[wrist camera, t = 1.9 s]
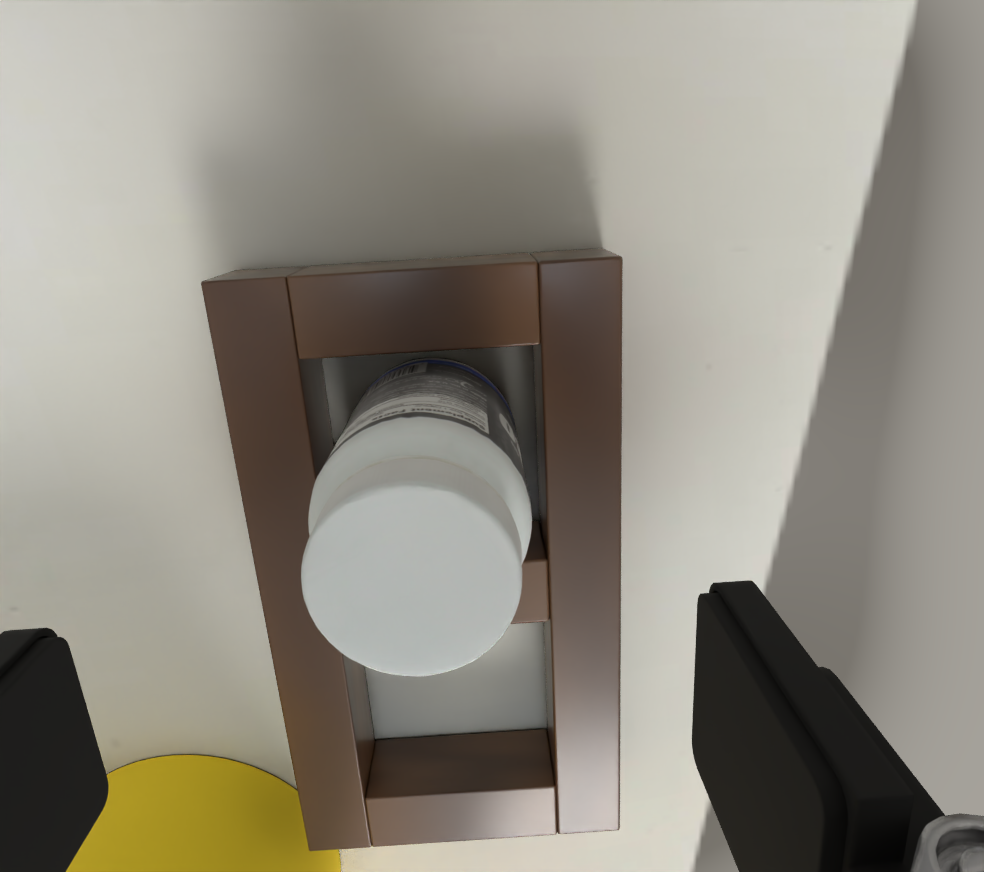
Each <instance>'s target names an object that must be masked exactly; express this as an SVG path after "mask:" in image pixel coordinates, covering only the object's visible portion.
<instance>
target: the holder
mask: <svg viewBox="0 0 984 872" xmlns="http://www.w3.org/2000/svg"><path fill="white" fill-rule="evenodd" d="M201 285H202V291H203V296H204V301H205V306H206V312H207V317H208V322H209V327H210V333H211V338H212V343H213V349H214V354H215V359H216V364H217V370H218V375H219V380H220V385H221V391H222V396H223V401H224V406H225V412H226V417H227V422H228V427H229V433H230V438H231V443H232V448H233V454H234V459H235V464H236V469H237V475H238V480H239V485H240V490H241V496H242V501H243V506H244V512H245V517H246V522H247V527H248V533H249V538H250V543H251V548H252V554H253V559H254V564H255V569H256V575H257V580H258V585H259V590H260V596H261V601H262V606H263V611H264V617H265V622H266V627H267V632H268V638H269V643H270V648H271V653H272V659H273V664H274V669H275V675H276V680H277V685H278V690H279V696H280V701H281V706H282V711H283V717H284V722H285V727H286V732H287V738H288V743H289V748H290V753H291V759H292V764H293V769H294V774H295V780H296V785H297V790H298V795H299V801H300V806H301V811H302V816H303V822H304V827H305V832H306V838H307V843H308V848H309V851H321V850H336V849H351V848H366V847H371V846H373V847H377V846H392V845H407V844H422V843H436V842H451V841H466V840H481V839H495V838H510V837H525V836H540V835H554V834H556V833H557V832H558V834H567V833H582V832H597V831H611V830H619V828H620V658H621V447H622V257H621V256H619V255H616V254H614V253H612V252H609V251H607V250H605V249H602V248H597V249H580V250H564V251H547V252H533V253H531V254H529V253H513V254H497V255H480V256H464V257H447V258H431V259H414V260H398V261H381V262H365V263H348V264H332V265H315V266H309V267H308V266H298V267H282V268H265V269H249V270H235V271H232V272H229V273H226V274H223V275H220V276H217V277H214V278H211V279H208V280H205V281H202V282H201ZM526 345H533V353H534V379H535V406H536V432H537V459H538V486H539V512H540V522H539V521H537V520H536V521H532V530H531V537H530V541H529V546H528V550H527V553H526V556H525V559H524V561H523V563H522V590H521V596H520V600H519V604H518V607H517V610H516V613H515V615H514V617H513V619H512V621H511V623H510V624H516V623H531V622H544V646H545V672H546V699H547V725H548V731H547V729H538V730H523V731H508V732H493V733H478V734H463V735H448V736H433V737H418V738H403V739H388V740H376V741H375V740H374V733H373V725H372V718H371V711H370V704H369V697H368V690H367V682H366V675H365V668H364V666H363V665H362V664H360V663H358V662H356V661H354V660H352V659H350V658H348V657H347V656H345V655H344V654H343V653H341V652H340V651H339V650H338V649H337V648H335V647H334V646H333V645H332V644H331V643H330V642H329V641H328V640H327V639H326V638H325V637H324V635H323V634H322V633H321V632H320V631H319V629H318V628H317V626H316V625H315V623H314V621H313V619H312V618H311V616H310V614H309V611H308V609H307V606H306V603H305V601H304V597H303V592H302V582H301V566H302V560H303V554H304V551H305V548H306V545H307V542H308V539H309V537H310V535H309V524H308V517H309V507H310V502H311V496H312V491H313V488H314V484H315V480H316V478H317V476H318V475H319V473H320V471H321V469H322V468H323V466H324V464H325V462H326V461H327V459H328V457H329V456H330V454H331V452H332V450H333V448H334V446H333V438H332V431H331V424H330V417H329V410H328V403H327V395H326V388H325V381H324V374H323V367H322V360H321V358H332V357H348V356H364V355H380V354H397V353H413V352H429V351H445V350H461V349H478V348H494V347H510V346H526Z"/></svg>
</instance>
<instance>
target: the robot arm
mask: <svg viewBox="0 0 984 872" xmlns="http://www.w3.org/2000/svg"><path fill="white" fill-rule="evenodd" d="M692 748H693V754H694V759H695V763H696V766H697V769H698V771H699V774H700V776H701V779H702V781H703V784H704V786H705V789H706V791H707V793H708V796H709V798H710V801H711V803H712V806H713V808H714V811H715V813H716V816H717V818H718V821H719V823H720V825H721V828H722V830H723V833H724V835H725V838H726V840H727V843H728V845H729V848H730V850H731V853H732V855H733V858H734V860H735V863H736V865H737V867H738V870H739V872H984V816H978V815H969V814H954V815H948V816H945V815H944V813H943V812H942V811H941V809H940V808H939V807H938V806H937V804H936V803H935V802H934V801H933V800H932V798H931V797H930V795H929V794H928V793H927V791H926V790H925V789H924V788H923V786H922V785H921V784H920V783H919V781H918V780H917V779H916V777H915V776H914V775H913V774H912V772H911V771H910V770H909V769H908V767H907V766H906V765H905V763H904V762H903V761H902V759H901V758H900V757H899V756H898V755H897V753H896V752H895V751H894V749H893V748H892V747H891V745H890V744H889V743H888V742H887V740H886V739H885V738H884V736H883V735H882V734H881V732H880V731H879V730H878V729H877V727H876V726H875V725H874V723H873V722H872V721H871V720H870V718H869V717H868V716H867V715H866V714H865V712H864V711H863V709H862V708H861V707H860V705H859V704H858V703H857V702H856V701H855V699H854V698H853V696H852V695H851V694H850V693H849V691H848V690H847V689H846V688H845V686H844V685H843V684H842V682H841V681H840V680H839V679H838V677H837V676H836V675H835V674H834V673H833V672H832V671H831V670H830V669H827V668H824V667H818V666H817V665H816V664H815V662H814V661H813V660H812V658H811V657H810V656H809V655H808V653H807V652H806V651H805V649H804V648H803V646H802V645H801V644H800V643H799V641H798V640H797V639H796V637H795V636H794V635H793V633H792V632H791V631H790V629H789V628H788V627H787V625H786V624H785V623H784V621H783V620H782V619H781V618H780V616H779V615H778V613H777V612H776V611H775V609H774V608H773V607H772V606H771V604H770V603H769V601H768V600H767V599H766V597H765V596H764V595H763V593H762V592H761V591H760V589H759V588H758V587H757V585H756V584H755V583H754V582H753V581H735V582H721V583H713V584H712V585H711V587H710V590H709V593H704V594H700V595H699V598H698V604H697V629H696V653H695V677H694V701H693V726H692ZM108 788H109V784H108V779H107V775H106V772H105V768H104V765H103V761H102V758H101V754H100V751H99V748H98V744H97V741H96V737H95V734H94V730H93V727H92V723H91V720H90V717H89V713H88V710H87V706H86V703H85V699H84V696H83V692H82V689H81V686H80V682H79V679H78V675H77V672H76V668H75V665H74V661H73V658H72V655H71V651H70V648H69V645H68V643H67V641H66V640H65V639H64V638H62V637H57V634H56V633H55V632H54V631H53V630H52V629H49V628H38V629H23V630H10V631H4V632H3V633H1V634H0V872H66V870H67V869H68V867H69V865H70V864H71V862H72V860H73V859H74V857H75V855H76V854H77V852H78V850H79V849H80V847H81V845H82V844H83V842H84V840H85V839H86V837H87V836H88V834H89V832H90V831H91V829H92V827H93V826H94V824H95V822H96V821H97V819H98V817H99V816H100V814H101V812H102V811H103V808H104V806H105V804H106V801H107V797H108Z"/></svg>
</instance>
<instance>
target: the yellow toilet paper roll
mask: <svg viewBox="0 0 984 872" xmlns="http://www.w3.org/2000/svg"><path fill="white" fill-rule="evenodd" d="M107 779H108V784H109V788H108V797H107V801H106V804H105V806H104V808H103V811H102V812H101V814H100V816H99V817H98V819H97V821H96V822H95V824H94V826H93V827H92V829H91V831H90V832H89V834H88V836H87V837H86V839H85V840H84V842H83V844H82V845H81V847H80V849H79V850H78V852H77V854H76V855H75V857H74V859H73V860H72V862H71V864H70V865H69V867H68V869H67V870H66V872H341V862H340V855H339V850H338V849H336V850H321V851H309V848H308V843H307V838H306V832H305V827H304V822H303V816H302V811H301V806H300V801H299V795H298V791H297V790H295V789H294V788H293V787H291V786H290V785H288V784H287V783H285V782H284V781H282V780H280V779H278V778H277V777H275V776H273V775H271V774H269V773H267V772H264V771H262V770H260V769H257V768H255V767H252V766H249V765H246V764H243V763H240V762H236V761H232V760H228V759H223V758H217V757H210V756H200V755H172V756H163V757H156V758H151V759H146V760H142V761H138V762H135V763H132V764H129V765H126V766H124V767H121V768H119V769H117V770H115V771H113V772H111V773H109V774H107Z"/></svg>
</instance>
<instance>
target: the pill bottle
mask: <svg viewBox="0 0 984 872" xmlns="http://www.w3.org/2000/svg"><path fill="white" fill-rule="evenodd" d="M308 524H309V535H310V537H309V539H308V542H307V545H306V548H305V551H304V554H303V560H302V566H301V582H302V592H303V597H304V601H305V603H306V606H307V609H308V611H309V614H310V616H311V618H312V619H313V621H314V623H315V625H316V626H317V628H318V629H319V631H320V632H321V633H322V634H323V635H324V637H325V638H326V639H327V640H328V641H329V642H330V643H331V644H332V645H333V646H334V647H335V648H337V649H338V650H339V651H340V652H341V653H343V654H344V655H345V656H347V657H348V658H350V659H352V660H354V661H356V662H358V663H360V664H362V665H363V666H366V667H368V668H371V669H373V670H376V671H379V672H383V673H388V674H393V675H400V676H428V675H436V674H441V673H445V672H449V671H452V670H455V669H457V668H460V667H462V666H464V665H467V664H469V663H471V662H473V661H474V660H476V659H477V658H479V657H480V656H482V655H483V654H484V653H485V652H487V651H488V650H489V649H490V648H492V647H493V646H494V645H495V644H496V642H497V641H498V640H499V639H500V638H501V637H502V636H503V634H504V633H505V631H506V629H507V628H508V626H509V625H510V623H511V621H512V619H513V617H514V615H515V613H516V610H517V607H518V604H519V600H520V596H521V590H522V563H523V561H524V559H525V556H526V553H527V550H528V546H529V541H530V537H531V530H532V509H531V503H530V494H529V490H528V487H527V483H526V477H525V474H524V469H523V464H522V458H521V453H520V448H519V443H518V439H517V433H516V428H515V423H514V419H513V416H512V413H511V410H510V408H509V405H508V403H507V401H506V400H505V398H504V396H503V395H502V393H501V392H500V391H499V389H498V388H497V387H496V386H495V385H494V384H493V383H492V382H491V381H490V380H489V379H488V378H487V377H486V376H484V375H483V374H482V373H480V372H479V371H477V370H476V369H474V368H472V367H470V366H468V365H465V364H463V363H460V362H456V361H453V360H447V359H441V358H423V359H417V360H412V361H408V362H405V363H402V364H400V365H398V366H396V367H394V368H392V369H390V370H389V371H387V372H385V373H384V374H383V375H381V376H380V377H379V378H378V379H376V380H375V381H374V382H373V383H372V384H371V385H370V387H369V388H368V389H367V390H366V392H365V393H364V395H363V396H362V398H361V399H360V401H359V402H358V404H357V406H356V408H355V409H354V411H353V413H352V415H351V417H350V419H349V421H348V423H347V425H346V427H345V428H344V431H343V432H342V434H341V436H340V438H339V439H338V441H337V443H336V445H335V447H334V448H333V450H332V452H331V454H330V456H329V457H328V459H327V461H326V462H325V464H324V466H323V468H322V469H321V471H320V473H319V475H318V476H317V478H316V480H315V484H314V488H313V491H312V496H311V502H310V507H309V517H308Z"/></svg>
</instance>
